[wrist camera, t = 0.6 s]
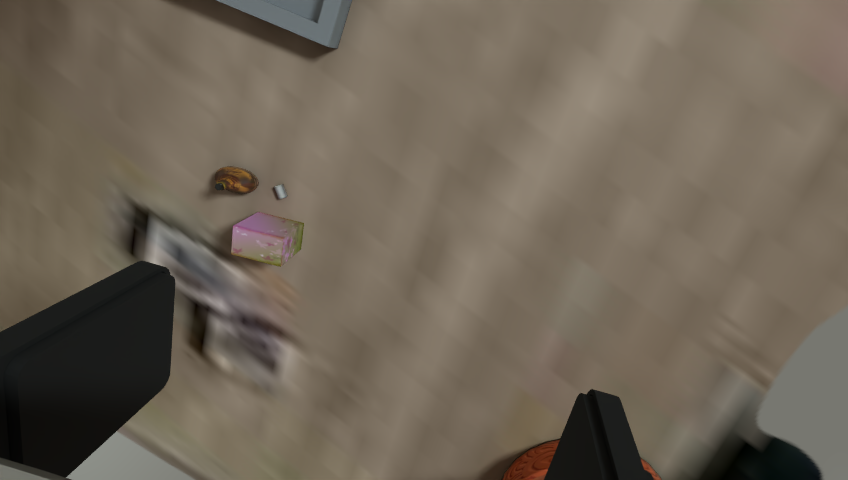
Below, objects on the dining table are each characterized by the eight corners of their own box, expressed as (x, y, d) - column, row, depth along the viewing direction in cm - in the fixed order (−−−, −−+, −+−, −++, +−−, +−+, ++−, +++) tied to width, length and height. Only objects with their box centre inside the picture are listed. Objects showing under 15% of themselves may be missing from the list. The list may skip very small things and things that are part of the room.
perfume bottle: (324, 172, 41) (304, 183, 37) (307, 300, 45) (287, 323, 41) (189, 141, 42) (154, 148, 38) (185, 268, 46) (152, 288, 42)
